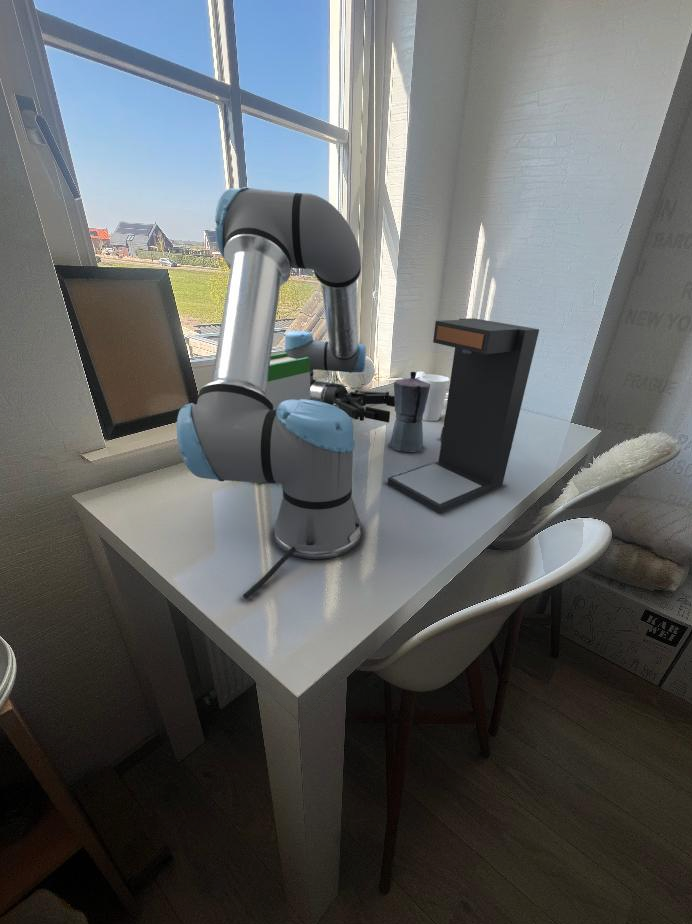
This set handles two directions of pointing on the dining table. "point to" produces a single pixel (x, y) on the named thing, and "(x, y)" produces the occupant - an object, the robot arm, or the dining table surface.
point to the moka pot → (409, 413)
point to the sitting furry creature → (419, 375)
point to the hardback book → (288, 379)
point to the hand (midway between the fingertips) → (399, 410)
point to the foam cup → (435, 395)
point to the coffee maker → (475, 412)
